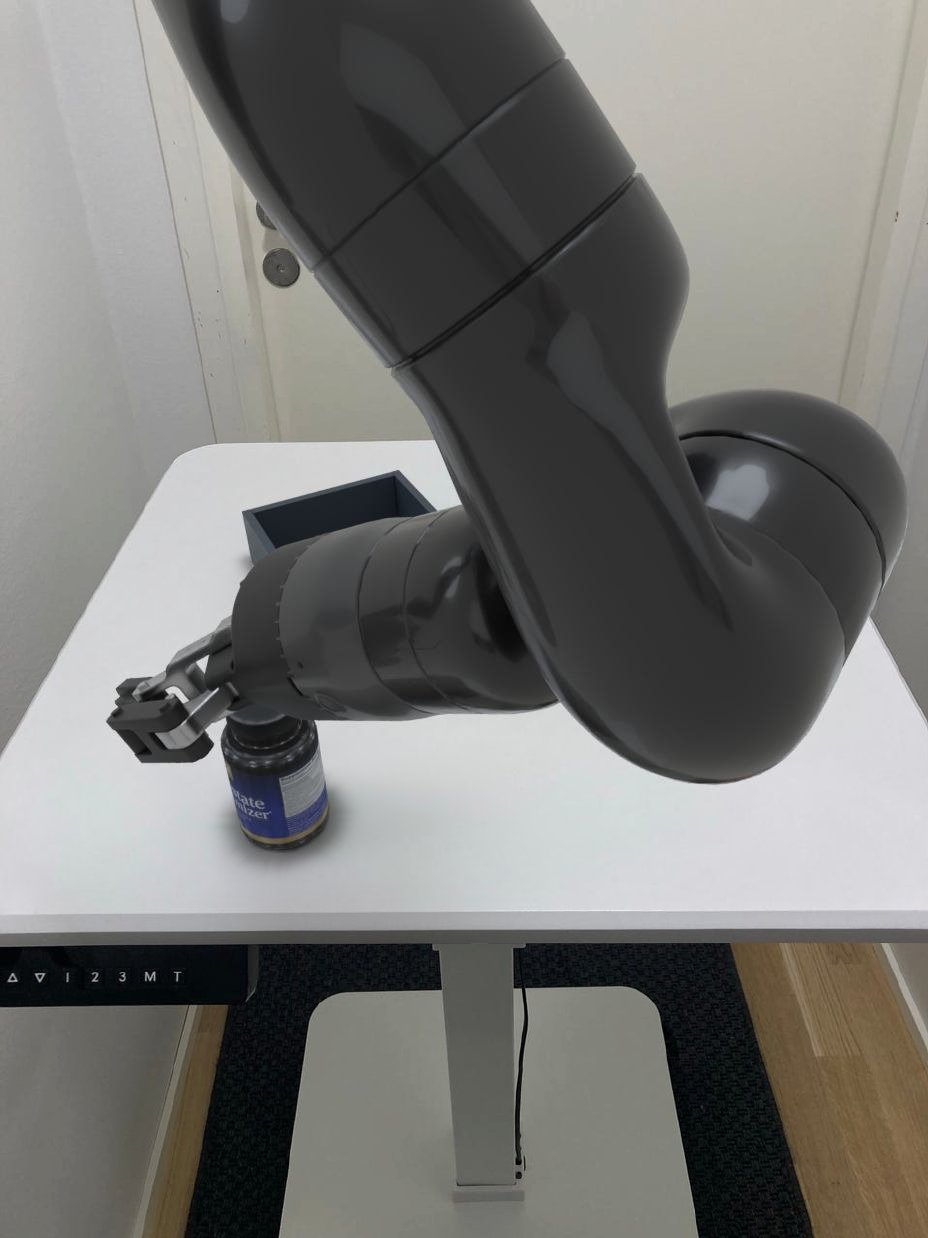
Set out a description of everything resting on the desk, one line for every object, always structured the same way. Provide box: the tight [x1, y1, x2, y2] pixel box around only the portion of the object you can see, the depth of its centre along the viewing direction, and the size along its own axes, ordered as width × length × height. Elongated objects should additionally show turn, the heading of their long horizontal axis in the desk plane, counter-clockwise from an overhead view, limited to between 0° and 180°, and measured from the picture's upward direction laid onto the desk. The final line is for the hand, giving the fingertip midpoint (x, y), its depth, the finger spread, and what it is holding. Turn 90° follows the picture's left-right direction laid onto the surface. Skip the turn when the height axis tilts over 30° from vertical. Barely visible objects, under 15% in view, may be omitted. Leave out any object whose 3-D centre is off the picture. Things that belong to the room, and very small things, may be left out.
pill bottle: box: [220, 704, 330, 850], centre depth 64 cm, size 6×6×11 cm
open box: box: [241, 469, 438, 567], centre depth 88 cm, size 16×16×6 cm
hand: (195, 645), depth 50 cm, fingers open, 8 cm apart
